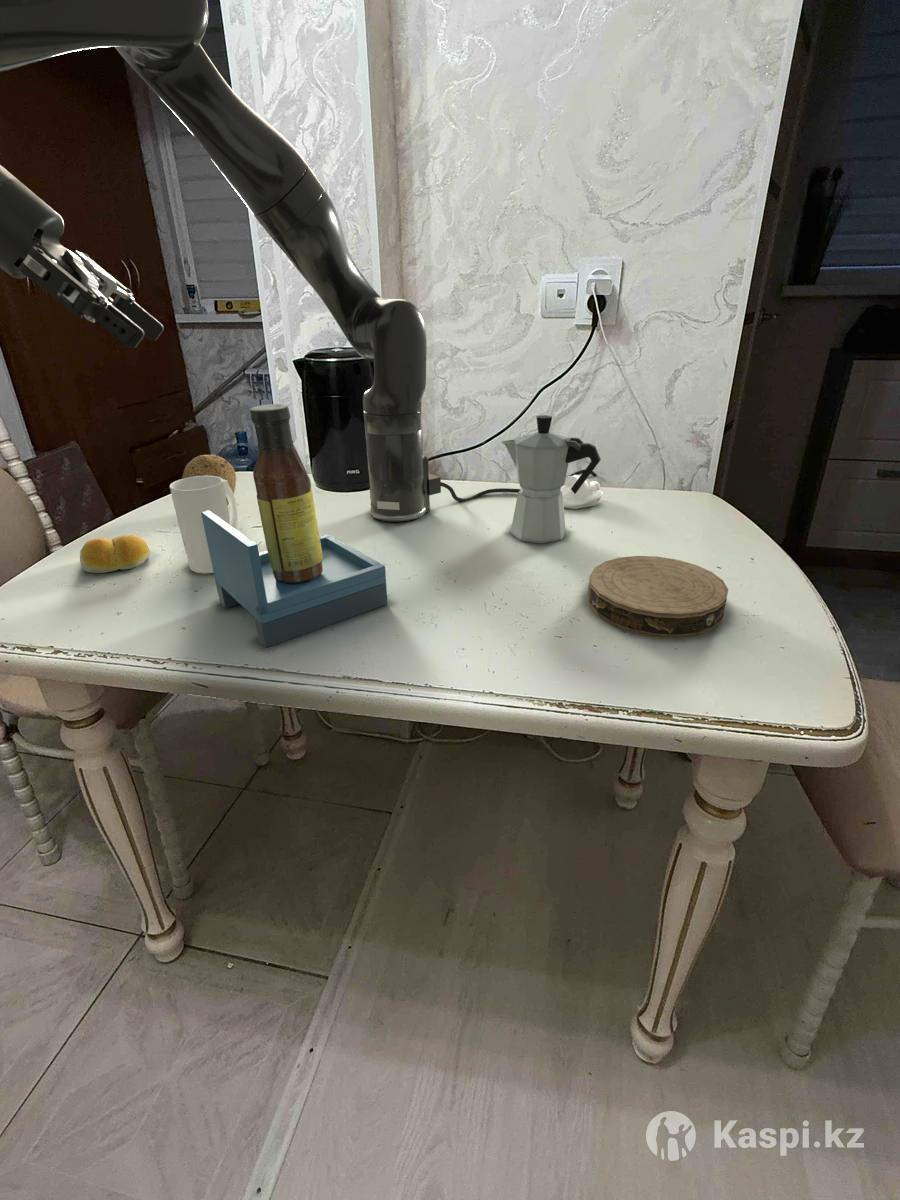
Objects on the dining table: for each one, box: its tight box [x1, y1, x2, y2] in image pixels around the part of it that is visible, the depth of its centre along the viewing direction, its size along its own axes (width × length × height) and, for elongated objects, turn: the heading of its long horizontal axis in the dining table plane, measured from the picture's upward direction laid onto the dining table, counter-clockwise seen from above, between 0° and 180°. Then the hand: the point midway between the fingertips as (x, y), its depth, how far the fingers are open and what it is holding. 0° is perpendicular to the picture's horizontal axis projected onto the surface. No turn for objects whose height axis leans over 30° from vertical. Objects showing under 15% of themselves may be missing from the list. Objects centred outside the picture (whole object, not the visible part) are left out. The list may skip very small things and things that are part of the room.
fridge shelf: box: [201, 510, 389, 648], centre depth 75 cm, size 16×14×12 cm
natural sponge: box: [181, 454, 237, 507], centre depth 107 cm, size 9×9×10 cm
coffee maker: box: [500, 414, 602, 544], centre depth 93 cm, size 15×9×18 cm, turn 68°
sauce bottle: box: [249, 403, 323, 583], centre depth 71 cm, size 7×6×20 cm
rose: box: [560, 474, 604, 510], centre depth 111 cm, size 10×4×10 cm
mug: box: [168, 476, 238, 575], centre depth 87 cm, size 10×7×12 cm, turn 159°
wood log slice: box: [587, 555, 729, 638], centre depth 75 cm, size 16×16×3 cm
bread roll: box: [79, 534, 151, 574], centre depth 89 cm, size 8×9×4 cm
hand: (149, 338), depth 65 cm, fingers open, 8 cm apart
